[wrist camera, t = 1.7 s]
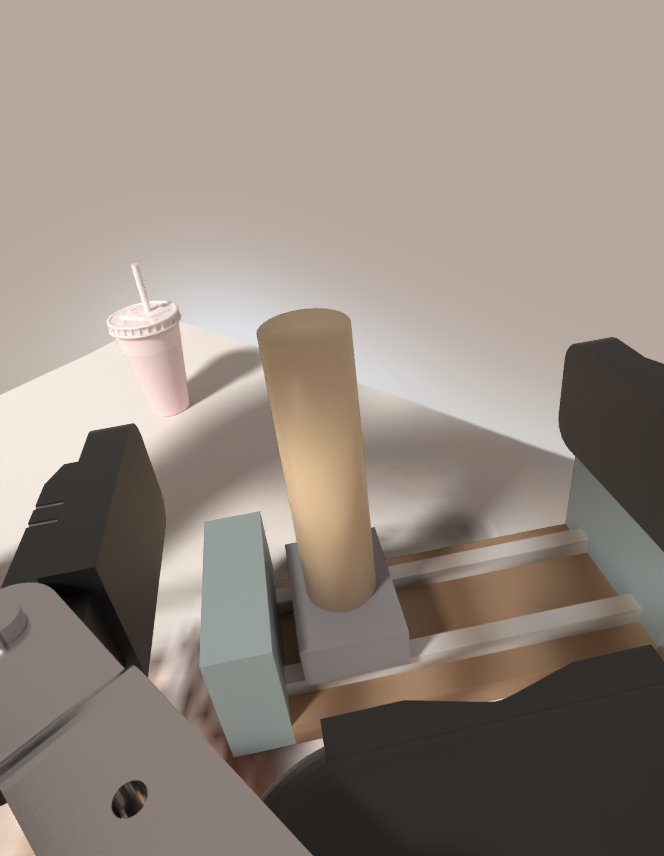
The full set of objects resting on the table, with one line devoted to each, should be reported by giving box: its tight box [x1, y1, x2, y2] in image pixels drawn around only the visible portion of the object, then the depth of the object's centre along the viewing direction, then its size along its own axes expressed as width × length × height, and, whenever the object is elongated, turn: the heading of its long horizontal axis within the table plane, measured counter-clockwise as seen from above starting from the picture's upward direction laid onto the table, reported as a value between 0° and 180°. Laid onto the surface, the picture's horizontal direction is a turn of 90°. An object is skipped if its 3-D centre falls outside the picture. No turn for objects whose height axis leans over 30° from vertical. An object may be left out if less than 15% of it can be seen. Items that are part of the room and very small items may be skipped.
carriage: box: [257, 308, 411, 686], centre depth 26 cm, size 5×7×16 cm
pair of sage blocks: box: [200, 456, 664, 757], centre depth 31 cm, size 24×9×7 cm, turn 99°
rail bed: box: [232, 524, 664, 757], centre depth 32 cm, size 24×9×2 cm, turn 99°
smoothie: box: [107, 263, 190, 417], centre depth 53 cm, size 6×6×14 cm
